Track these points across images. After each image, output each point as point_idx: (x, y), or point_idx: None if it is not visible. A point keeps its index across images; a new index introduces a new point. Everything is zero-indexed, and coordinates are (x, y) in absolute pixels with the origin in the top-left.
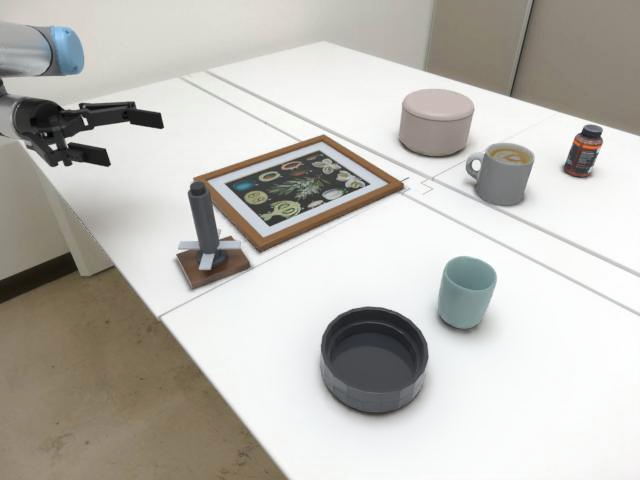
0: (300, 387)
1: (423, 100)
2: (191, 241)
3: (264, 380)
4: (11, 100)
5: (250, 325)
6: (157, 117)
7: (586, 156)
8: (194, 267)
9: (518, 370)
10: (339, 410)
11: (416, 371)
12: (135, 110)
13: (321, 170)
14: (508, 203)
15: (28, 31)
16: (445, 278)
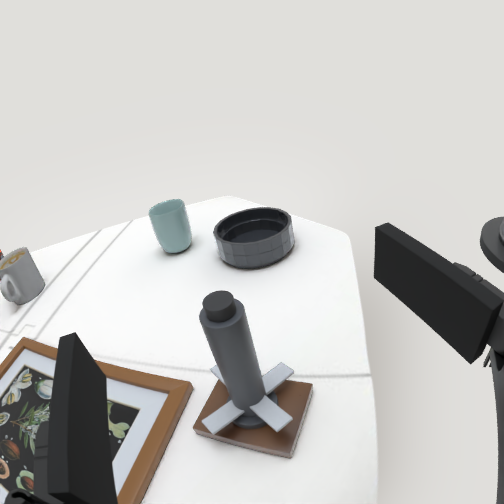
0: (305, 259)
1: None
2: (263, 417)
3: (324, 272)
4: None
5: (295, 313)
6: (82, 347)
7: (3, 257)
8: (288, 407)
9: (202, 222)
10: (297, 242)
11: (246, 221)
12: (63, 436)
13: (3, 425)
14: (43, 280)
15: None
16: (177, 210)
